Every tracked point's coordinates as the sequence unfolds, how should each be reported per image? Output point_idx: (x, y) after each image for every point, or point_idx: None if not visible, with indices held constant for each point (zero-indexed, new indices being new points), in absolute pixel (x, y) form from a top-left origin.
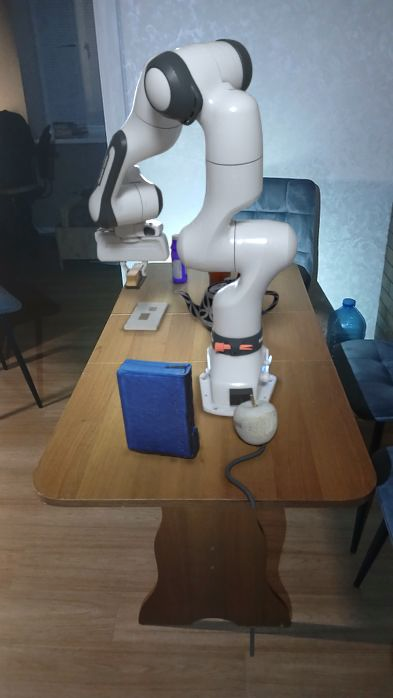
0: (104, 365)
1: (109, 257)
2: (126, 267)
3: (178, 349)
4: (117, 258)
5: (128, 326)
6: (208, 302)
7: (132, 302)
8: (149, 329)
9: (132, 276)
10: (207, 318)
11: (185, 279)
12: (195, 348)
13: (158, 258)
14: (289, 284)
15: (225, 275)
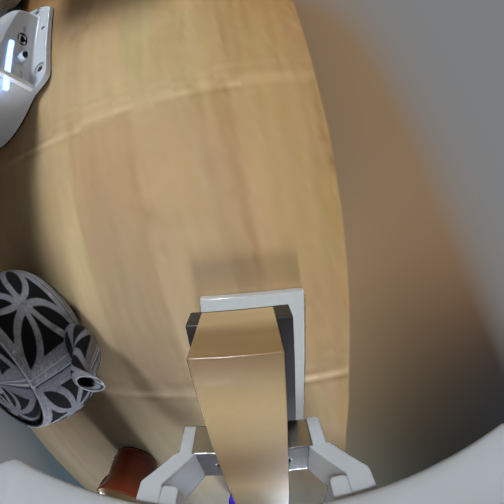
0: (278, 64)
1: (471, 473)
2: (320, 467)
3: (103, 186)
4: (406, 499)
5: (290, 295)
6: (16, 326)
7: (322, 427)
8: (222, 295)
9: (213, 353)
10: (37, 293)
11: (230, 497)
12: (70, 201)
13: (32, 482)
14: (65, 462)
15: (106, 480)
